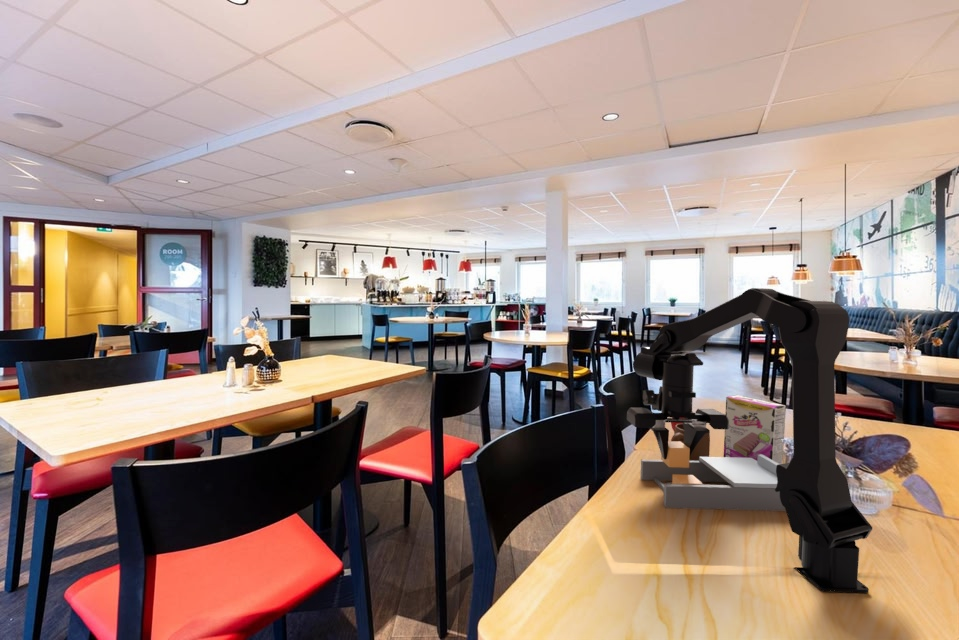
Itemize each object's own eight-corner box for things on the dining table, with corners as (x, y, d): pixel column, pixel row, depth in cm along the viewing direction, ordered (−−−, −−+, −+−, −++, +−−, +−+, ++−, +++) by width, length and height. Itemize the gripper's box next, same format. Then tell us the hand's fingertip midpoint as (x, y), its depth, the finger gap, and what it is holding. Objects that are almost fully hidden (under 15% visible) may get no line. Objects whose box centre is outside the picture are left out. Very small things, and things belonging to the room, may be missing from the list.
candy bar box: (722, 461, 101) (724, 396, 100) (734, 458, 103) (736, 394, 102) (771, 479, 91) (774, 407, 90) (783, 475, 93) (786, 404, 92)
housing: (794, 515, 75) (795, 489, 75) (665, 512, 76) (666, 486, 76) (750, 484, 88) (751, 461, 88) (640, 481, 89) (641, 459, 89)
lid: (795, 488, 75) (796, 473, 75) (734, 487, 75) (734, 472, 75) (751, 461, 88) (752, 448, 88) (699, 460, 88) (699, 447, 88)
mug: (688, 480, 90) (689, 438, 90) (656, 468, 96) (657, 429, 96) (714, 468, 97) (716, 429, 96) (683, 457, 103) (685, 421, 103)
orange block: (702, 504, 77) (703, 483, 77) (681, 503, 78) (681, 483, 77) (692, 494, 81) (692, 474, 81) (671, 493, 82) (672, 474, 81)
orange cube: (689, 467, 83) (689, 448, 83) (669, 467, 83) (669, 447, 83) (680, 460, 87) (680, 441, 87) (661, 459, 87) (661, 441, 87)
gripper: (702, 378, 92) (700, 446, 93) (619, 376, 92) (617, 444, 93) (732, 388, 81) (729, 465, 81) (637, 387, 81) (635, 463, 82)
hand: (674, 458), depth 85 cm, fingers closed on orange cube, 4 cm apart
